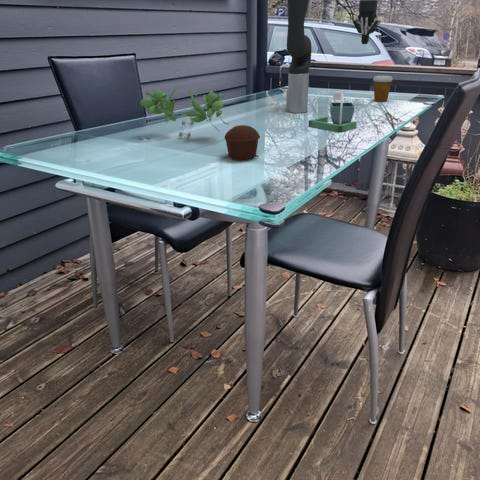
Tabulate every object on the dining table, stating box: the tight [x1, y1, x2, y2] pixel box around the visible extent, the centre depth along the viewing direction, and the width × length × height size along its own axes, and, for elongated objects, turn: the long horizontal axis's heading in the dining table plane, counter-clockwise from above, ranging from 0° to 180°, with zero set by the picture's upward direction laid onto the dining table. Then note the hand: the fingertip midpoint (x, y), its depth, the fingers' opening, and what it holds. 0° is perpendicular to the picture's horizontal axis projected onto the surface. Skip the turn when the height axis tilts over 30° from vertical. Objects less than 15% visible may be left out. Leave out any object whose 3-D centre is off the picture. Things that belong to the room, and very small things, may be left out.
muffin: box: [223, 124, 261, 162], centre depth 150 cm, size 12×11×10 cm
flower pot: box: [329, 102, 355, 125], centre depth 185 cm, size 9×9×9 cm
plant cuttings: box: [139, 88, 229, 140], centre depth 177 cm, size 35×17×22 cm
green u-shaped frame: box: [307, 92, 358, 133], centre depth 183 cm, size 16×10×14 cm, turn 41°
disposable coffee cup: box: [372, 75, 394, 103], centre depth 234 cm, size 10×10×12 cm
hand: (364, 44), depth 201 cm, fingers closed
